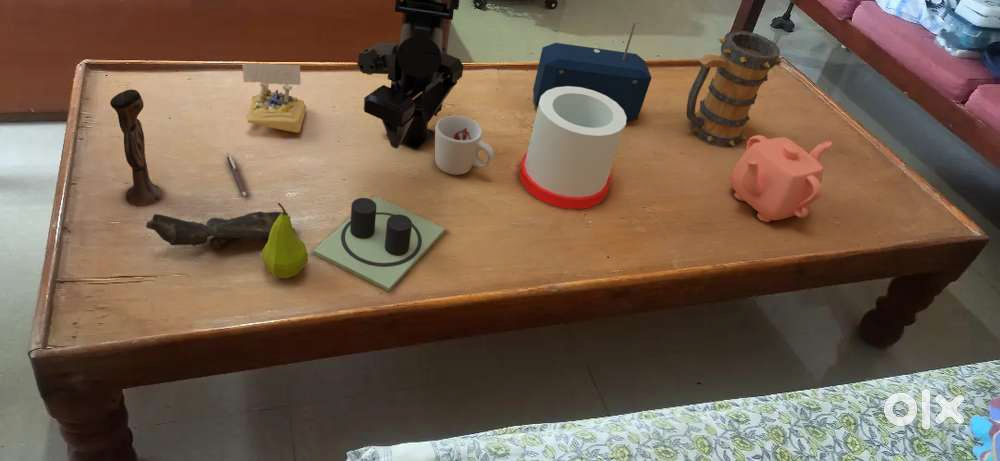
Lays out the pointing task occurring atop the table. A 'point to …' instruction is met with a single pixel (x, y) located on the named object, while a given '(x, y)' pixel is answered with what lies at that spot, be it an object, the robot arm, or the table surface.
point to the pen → (236, 174)
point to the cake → (275, 97)
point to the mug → (731, 87)
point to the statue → (213, 228)
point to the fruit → (284, 249)
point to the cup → (459, 145)
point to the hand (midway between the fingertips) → (410, 133)
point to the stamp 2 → (398, 235)
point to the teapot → (778, 177)
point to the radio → (595, 74)
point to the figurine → (135, 148)
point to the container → (572, 147)
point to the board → (379, 247)
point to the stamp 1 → (363, 218)
